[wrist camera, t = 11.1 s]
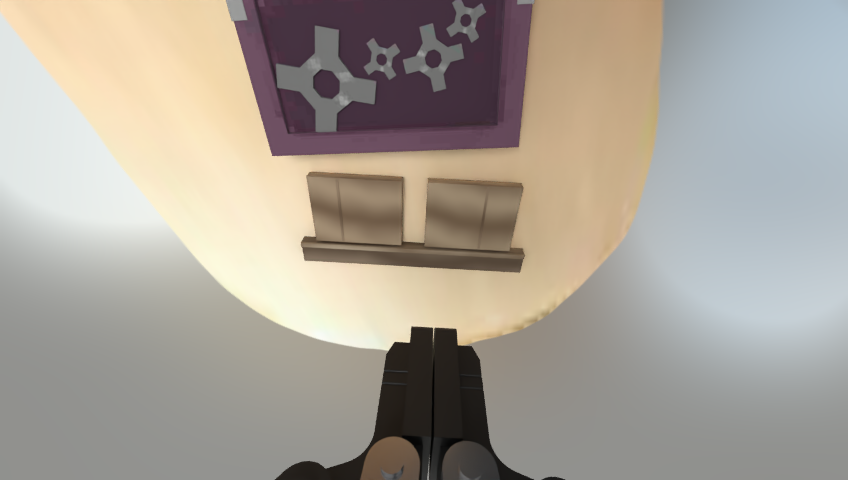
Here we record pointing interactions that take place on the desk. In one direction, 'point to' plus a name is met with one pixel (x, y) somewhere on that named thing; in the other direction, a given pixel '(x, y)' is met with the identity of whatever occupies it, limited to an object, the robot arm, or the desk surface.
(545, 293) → the desk surface
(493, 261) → the strip
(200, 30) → the desk surface
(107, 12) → the desk surface
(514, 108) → the purple gear tray
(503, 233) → the plank
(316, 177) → the plank
